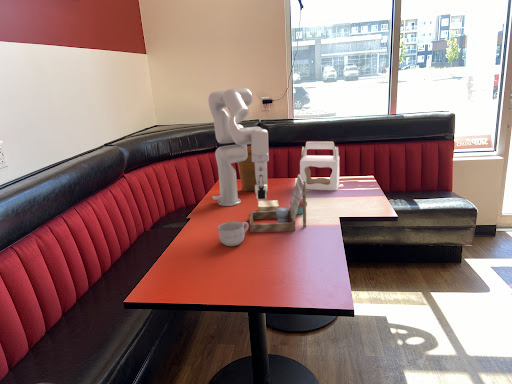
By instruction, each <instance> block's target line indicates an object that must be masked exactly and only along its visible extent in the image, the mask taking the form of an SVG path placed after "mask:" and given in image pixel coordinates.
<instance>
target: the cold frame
mask: <svg viewBox="0 0 512 384" xmlns="http://www.w3.org/2000/svg"><path fill="white" fill-rule="evenodd" d="M306 196H307V189H306V181H302V179H301V177H300V173H299V174H297V178H296V182H295V185H294V189H293V193H292V198H291V201H290V202H291V205H290V204H289V207H288V218H289V222H287V223H278V222H270V223H267V222H266V223H254V220H265V219H264V218H271V219H278V218H277V217H276V211H250V212H249V233H250V234H251V233H270V232H271V233H272V232H292V231H296V229H297V228H296V218H297V215H298V214H297V210H298V206H299V203H300V199H301V198H302V199H303V213H302V227H303V228H306V227H307V206H306V202H307V197H306ZM288 218H287V219H288Z"/></svg>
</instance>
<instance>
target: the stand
mask: <svg viewBox="0 0 512 384" xmlns="http://www.w3.org/2000/svg"><path fill="white" fill-rule="evenodd" d="M257 204H258V205H257V206H258V207H257V208H258V211H276V209H278V208H280V205H279V200H278V199H277V200H276V199H273V200H264V201H259V200H257Z"/></svg>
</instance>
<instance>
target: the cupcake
mask: <svg viewBox="0 0 512 384" xmlns="http://www.w3.org/2000/svg"><path fill="white" fill-rule="evenodd" d="M290 205H291V201H290V202H289V206H290ZM307 206H308V202H307V201H306V207H307ZM296 215H303V197H301V199H300V203H299V206H298V210H297V214H296Z"/></svg>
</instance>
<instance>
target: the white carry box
mask: <svg viewBox="0 0 512 384" xmlns="http://www.w3.org/2000/svg"><path fill="white" fill-rule="evenodd" d="M301 147H302V148H301V156H300V159H299V175H300V177H301V179H302V181H306V190H316V191H317V190H318V191H338V188H339V187H340V155H339V153H340V151H339V146H336V145H335V142H334V141H332V140H331V141H329V140H327V141H321V140H320V141H317V140H316V141H315V140H314V141H313V140H311V141H310V140H309V141H306V142H305V146H301ZM308 150H332V154H333V155H322V154H321V155H313V154H312V155H311V154H309V155H308V153H307V152H308ZM310 167H313V168H314V167H315V168H319V169H320V168H330V169H331V170H332V172H331V173H330V177H329V178H325V177H316V178H312V177H311V174H312V173H311V169H310Z"/></svg>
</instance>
